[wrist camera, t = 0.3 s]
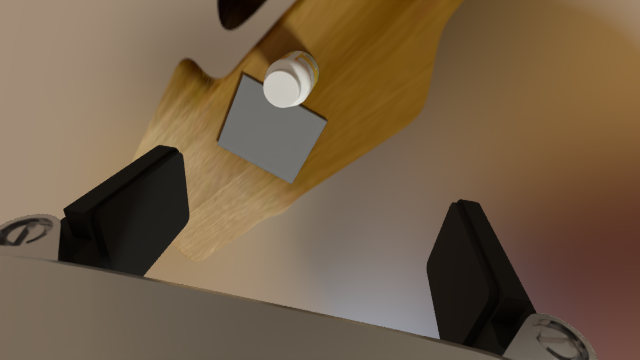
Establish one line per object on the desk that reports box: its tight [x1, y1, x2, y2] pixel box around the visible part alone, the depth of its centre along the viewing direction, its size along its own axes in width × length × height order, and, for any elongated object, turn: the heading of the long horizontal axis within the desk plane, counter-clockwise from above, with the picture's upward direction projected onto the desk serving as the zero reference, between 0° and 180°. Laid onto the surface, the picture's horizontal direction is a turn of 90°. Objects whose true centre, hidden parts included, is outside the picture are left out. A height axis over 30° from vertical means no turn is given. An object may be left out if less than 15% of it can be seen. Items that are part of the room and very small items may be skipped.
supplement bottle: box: [263, 51, 319, 108], centre depth 38 cm, size 5×5×10 cm
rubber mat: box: [217, 74, 328, 184], centre depth 47 cm, size 12×13×1 cm
